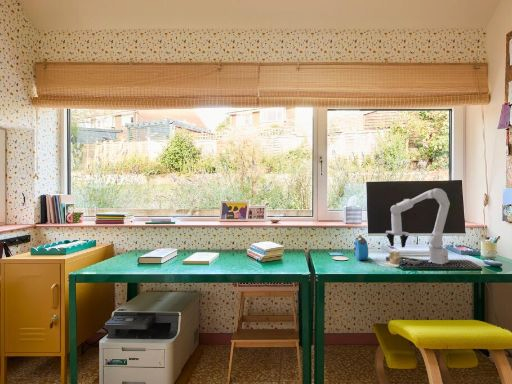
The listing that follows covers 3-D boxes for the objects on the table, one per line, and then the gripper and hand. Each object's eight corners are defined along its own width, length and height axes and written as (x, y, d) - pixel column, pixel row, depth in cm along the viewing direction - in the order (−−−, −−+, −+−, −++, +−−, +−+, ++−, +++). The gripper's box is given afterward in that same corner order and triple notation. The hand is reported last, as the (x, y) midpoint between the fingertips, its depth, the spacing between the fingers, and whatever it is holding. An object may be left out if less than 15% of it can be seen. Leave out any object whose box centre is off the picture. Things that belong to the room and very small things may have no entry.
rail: (422, 263, 211) (422, 259, 211) (415, 265, 207) (414, 262, 207) (393, 258, 228) (393, 255, 228) (385, 260, 223) (385, 257, 223)
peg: (399, 263, 212) (399, 251, 212) (395, 264, 210) (395, 252, 209) (394, 262, 215) (393, 250, 215) (389, 263, 213) (389, 251, 213)
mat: (406, 264, 211) (406, 263, 211) (396, 266, 206) (396, 266, 206) (392, 261, 218) (392, 261, 218) (383, 264, 214) (383, 263, 214)
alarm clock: (369, 261, 222) (367, 238, 222) (359, 262, 222) (357, 238, 222) (364, 257, 235) (363, 235, 235) (354, 257, 235) (353, 235, 235)
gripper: (382, 224, 222) (383, 246, 222) (403, 226, 210) (404, 248, 210) (389, 223, 225) (390, 244, 226) (410, 224, 213) (411, 247, 214)
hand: (397, 246), depth 218 cm, fingers open, 7 cm apart
